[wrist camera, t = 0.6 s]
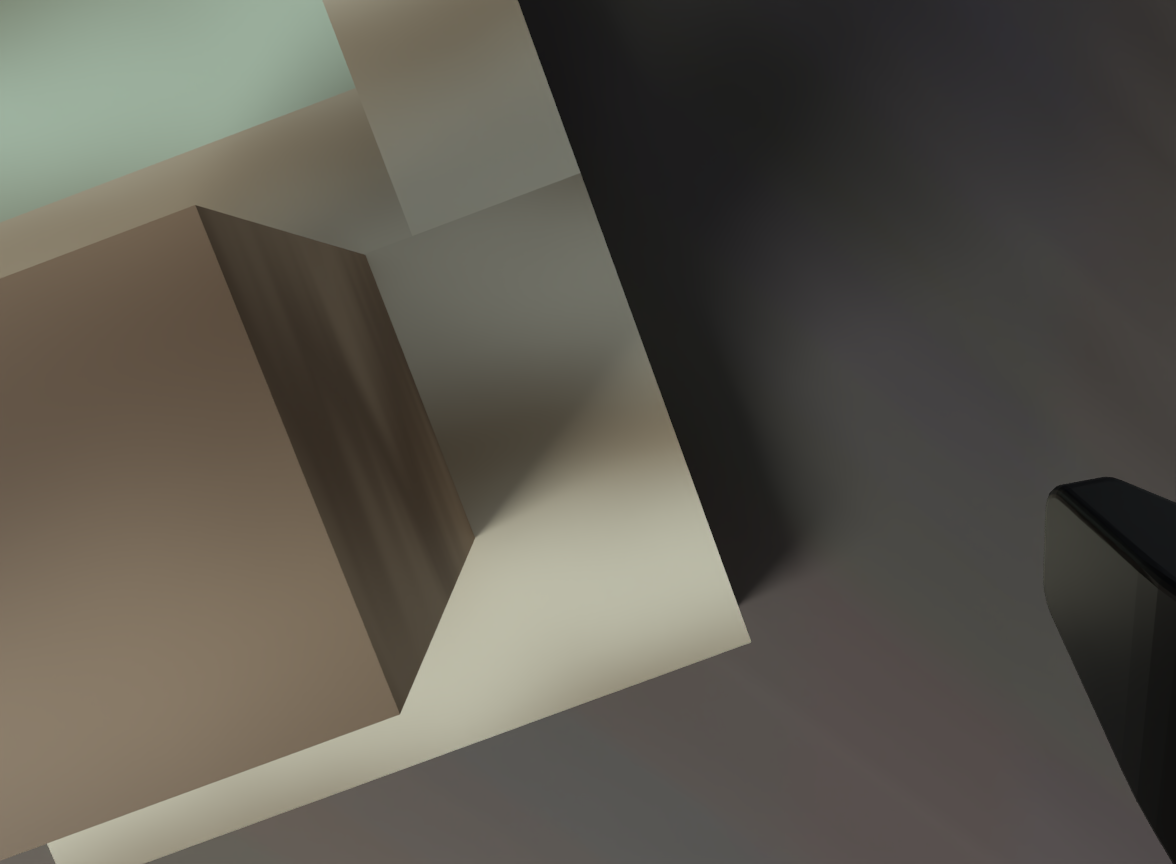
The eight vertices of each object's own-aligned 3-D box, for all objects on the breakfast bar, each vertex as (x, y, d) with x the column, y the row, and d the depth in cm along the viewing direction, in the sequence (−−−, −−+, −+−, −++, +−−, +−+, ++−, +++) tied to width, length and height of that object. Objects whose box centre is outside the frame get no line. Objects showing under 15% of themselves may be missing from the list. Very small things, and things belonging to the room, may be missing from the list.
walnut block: (475, 538, 23) (399, 714, 13) (197, 640, 23) (-95, 895, 13) (365, 254, 22) (195, 205, 12) (80, 361, 22) (-323, 400, 12)
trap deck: (733, 609, 25) (751, 642, 23) (116, 835, 26) (67, 891, 23) (376, -370, 23) (352, -452, 21) (-296, -109, 23) (-399, -160, 21)
